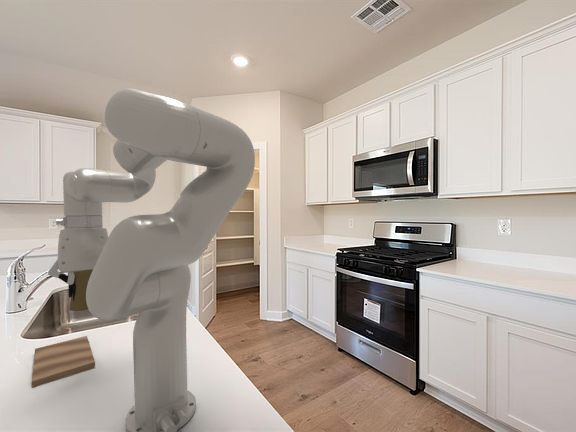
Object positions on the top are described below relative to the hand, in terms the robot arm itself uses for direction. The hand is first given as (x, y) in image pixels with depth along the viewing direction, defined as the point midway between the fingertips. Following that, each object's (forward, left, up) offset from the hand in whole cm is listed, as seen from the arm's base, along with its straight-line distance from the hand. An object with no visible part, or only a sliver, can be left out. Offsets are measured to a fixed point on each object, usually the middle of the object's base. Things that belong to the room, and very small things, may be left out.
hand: (85, 296), depth 68 cm
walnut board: (+13, +4, -19) cm, 24 cm away
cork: (0, 0, -2) cm, 2 cm away
